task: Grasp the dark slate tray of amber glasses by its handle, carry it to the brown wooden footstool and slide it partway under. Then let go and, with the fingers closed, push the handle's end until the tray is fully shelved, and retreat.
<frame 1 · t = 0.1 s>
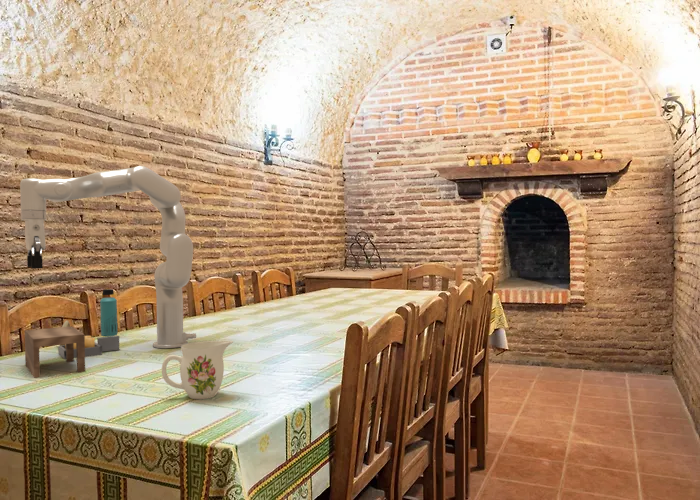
hand: (34, 267, 199), 31 cm above the table, tool pointing down, fingers open, 9 cm apart
pitcher: (198, 396, 155), on the table
beverage bottle: (109, 339, 242), on the table
brown wooden footstool: (54, 368, 189), on the table
chocolate bunny: (66, 346, 226), on the table
tray: (80, 355, 211), on the table
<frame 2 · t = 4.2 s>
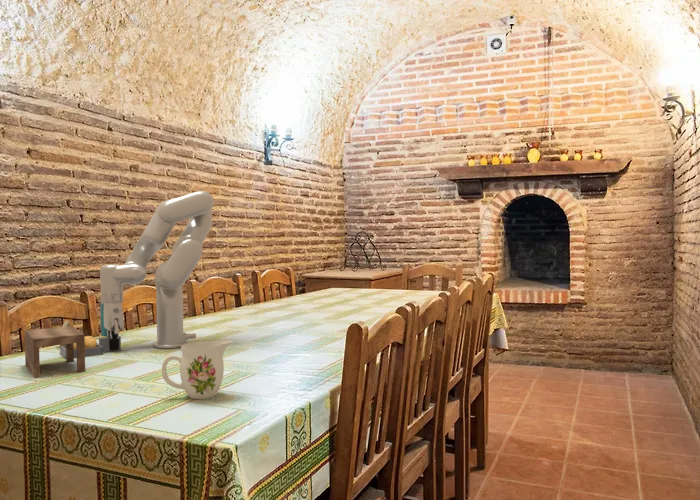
hand: (113, 349, 217), 1 cm above the table, tool pointing down, fingers closed on tray
tray: (81, 355, 211), on the table, touching gripper
everything else where it was.
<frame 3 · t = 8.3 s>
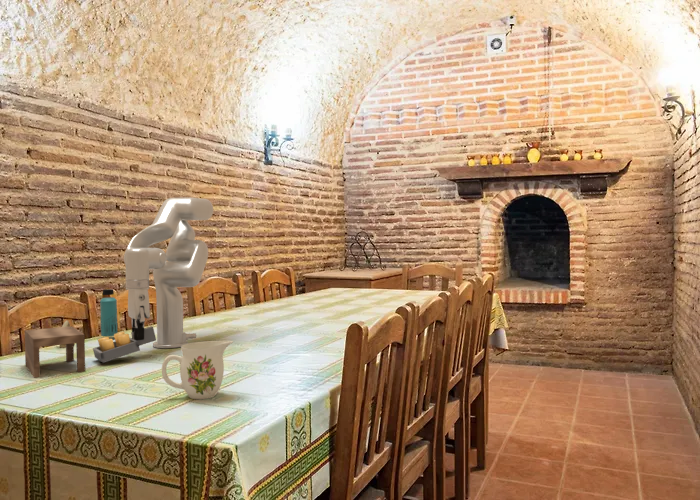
hand: (138, 339, 203), 7 cm above the table, tool pointing down, fingers closed on tray
tray: (117, 354, 199), point 2 cm above the table, tilted 12°, touching gripper
everything else where it was.
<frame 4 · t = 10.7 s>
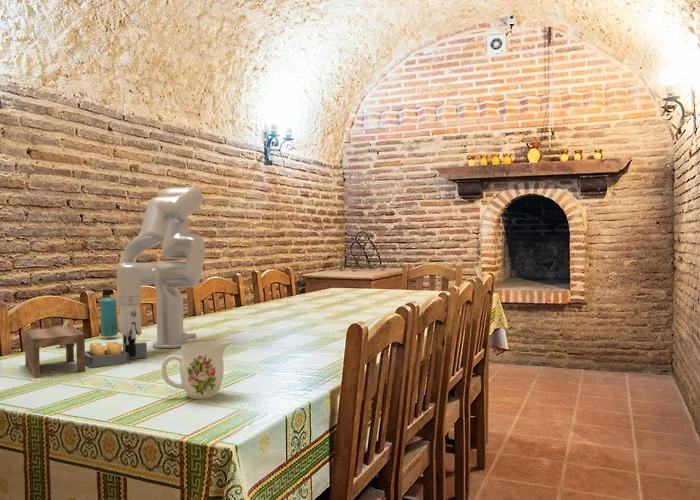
hand: (129, 355, 201), 1 cm above the table, tool pointing down, fingers closed on tray
tray: (105, 362, 197), on the table, touching gripper
everything else where it was.
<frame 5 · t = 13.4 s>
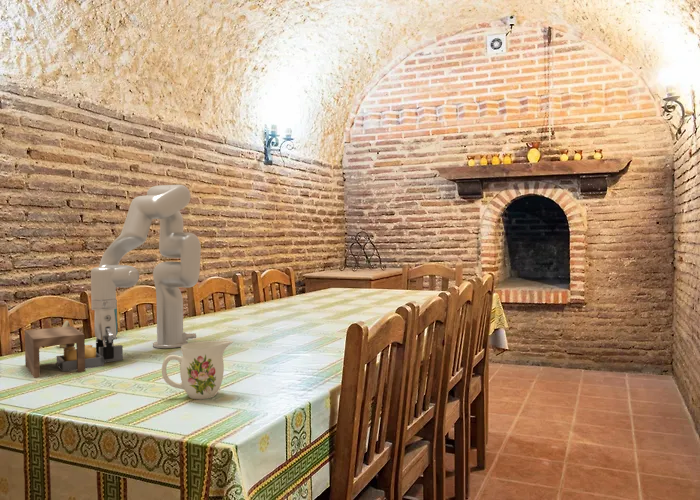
hand: (104, 356, 197), 2 cm above the table, tool pointing down, fingers open, 9 cm apart
tray: (80, 366, 193), on the table, touching gripper
everything else where it was.
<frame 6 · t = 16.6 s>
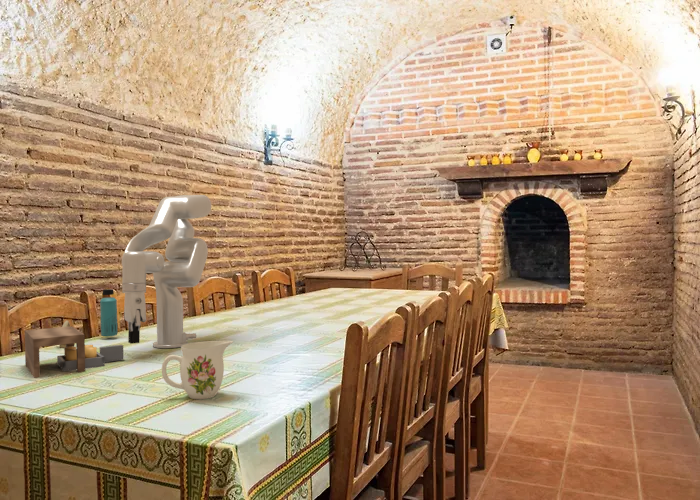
hand: (133, 342, 202), 5 cm above the table, tool pointing down, fingers closed
tray: (80, 366, 193), on the table
everything else where it was.
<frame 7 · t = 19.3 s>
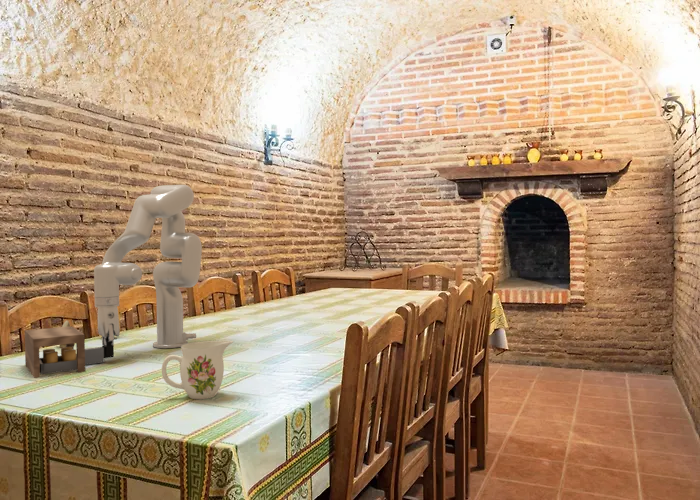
hand: (108, 357, 198), 2 cm above the table, tool pointing down, fingers closed
tray: (59, 369, 189), on the table
everything else where it was.
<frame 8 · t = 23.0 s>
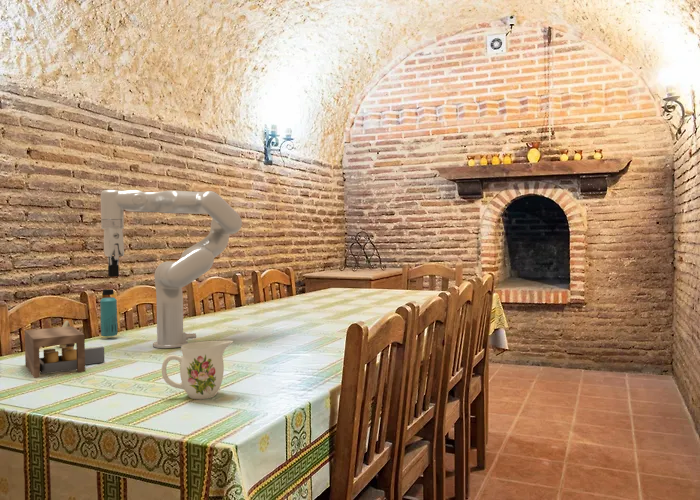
hand: (113, 276, 214), 27 cm above the table, tool pointing down, fingers closed
nothing on the table moved.
at the end: tray 0.2 cm from the target spot on the brown wooden footstool, point 0.0 cm above the brown wooden footstool's base; tray tilted 0°; the gripper is holding nothing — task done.
